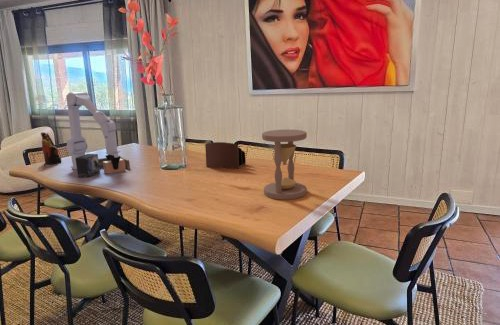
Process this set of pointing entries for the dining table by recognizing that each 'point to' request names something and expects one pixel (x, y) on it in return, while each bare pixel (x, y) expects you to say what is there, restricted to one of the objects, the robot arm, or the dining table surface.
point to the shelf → (120, 158)
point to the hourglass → (283, 152)
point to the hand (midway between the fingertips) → (114, 168)
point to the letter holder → (224, 155)
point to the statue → (49, 150)
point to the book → (109, 167)
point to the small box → (87, 165)
